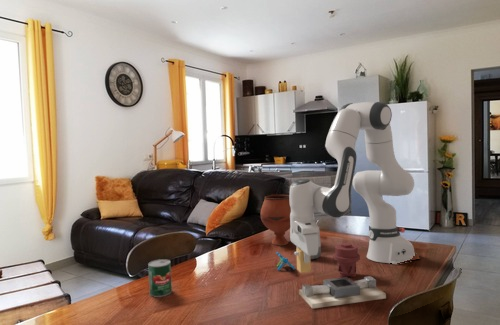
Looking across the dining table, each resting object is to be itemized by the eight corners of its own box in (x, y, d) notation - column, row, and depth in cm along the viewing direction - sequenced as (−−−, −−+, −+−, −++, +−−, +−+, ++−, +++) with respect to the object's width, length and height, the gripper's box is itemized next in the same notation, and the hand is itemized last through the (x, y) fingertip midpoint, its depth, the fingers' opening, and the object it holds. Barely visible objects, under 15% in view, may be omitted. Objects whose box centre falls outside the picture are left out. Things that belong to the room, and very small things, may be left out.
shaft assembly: (368, 282, 131) (368, 274, 130) (383, 292, 122) (383, 283, 122) (300, 291, 125) (300, 282, 125) (310, 302, 116) (310, 292, 116)
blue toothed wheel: (299, 269, 146) (280, 252, 146) (289, 280, 145) (271, 264, 145) (292, 264, 157) (275, 248, 157) (283, 274, 156) (266, 259, 156)
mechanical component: (366, 276, 140) (346, 281, 136) (347, 269, 149) (328, 273, 144) (365, 245, 140) (345, 249, 135) (347, 239, 148) (327, 243, 144)
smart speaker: (297, 259, 163) (297, 229, 162) (302, 253, 172) (302, 224, 171) (318, 261, 160) (318, 230, 159) (322, 255, 168) (322, 225, 167)
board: (366, 284, 132) (366, 280, 132) (385, 298, 120) (385, 293, 120) (298, 293, 126) (298, 289, 126) (312, 308, 115) (312, 304, 115)
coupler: (310, 267, 138) (309, 247, 138) (314, 271, 134) (313, 250, 134) (294, 269, 137) (293, 248, 136) (297, 273, 133) (296, 252, 133)
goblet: (263, 238, 202) (261, 193, 201) (298, 238, 200) (296, 193, 199) (259, 248, 184) (257, 199, 182) (297, 248, 181) (296, 198, 180)
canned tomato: (160, 298, 126) (159, 267, 126) (144, 294, 130) (143, 264, 130) (176, 290, 133) (175, 261, 132) (161, 286, 137) (159, 258, 137)
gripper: (285, 218, 144) (286, 252, 145) (303, 230, 124) (305, 270, 125) (300, 217, 145) (301, 251, 146) (321, 229, 125) (322, 268, 126)
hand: (303, 260), depth 135 cm, fingers closed on coupler, 4 cm apart
